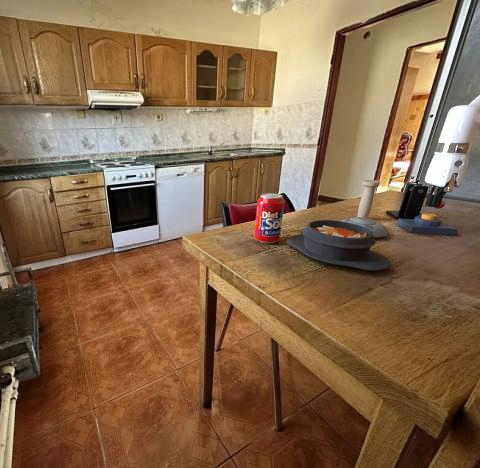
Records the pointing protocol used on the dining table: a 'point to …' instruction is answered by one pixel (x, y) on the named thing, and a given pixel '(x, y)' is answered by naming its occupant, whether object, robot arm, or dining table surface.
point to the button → (428, 216)
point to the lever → (427, 196)
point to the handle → (367, 197)
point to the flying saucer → (369, 225)
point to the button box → (427, 226)
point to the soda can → (269, 218)
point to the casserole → (340, 245)
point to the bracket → (411, 202)
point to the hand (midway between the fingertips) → (431, 206)
